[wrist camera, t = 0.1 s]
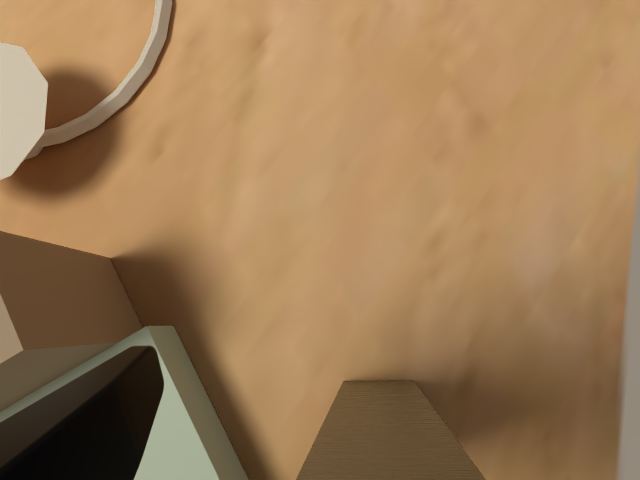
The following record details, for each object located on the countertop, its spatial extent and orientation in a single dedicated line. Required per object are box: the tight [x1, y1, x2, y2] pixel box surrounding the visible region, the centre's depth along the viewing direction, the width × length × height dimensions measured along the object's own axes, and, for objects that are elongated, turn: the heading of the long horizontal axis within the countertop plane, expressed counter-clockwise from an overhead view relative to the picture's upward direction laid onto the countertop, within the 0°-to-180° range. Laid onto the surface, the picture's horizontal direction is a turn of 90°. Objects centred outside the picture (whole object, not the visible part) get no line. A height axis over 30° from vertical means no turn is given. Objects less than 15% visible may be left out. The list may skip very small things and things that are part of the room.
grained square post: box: [296, 380, 486, 480], centre depth 15 cm, size 3×3×15 cm
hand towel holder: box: [0, 0, 172, 180], centre depth 27 cm, size 17×4×21 cm
